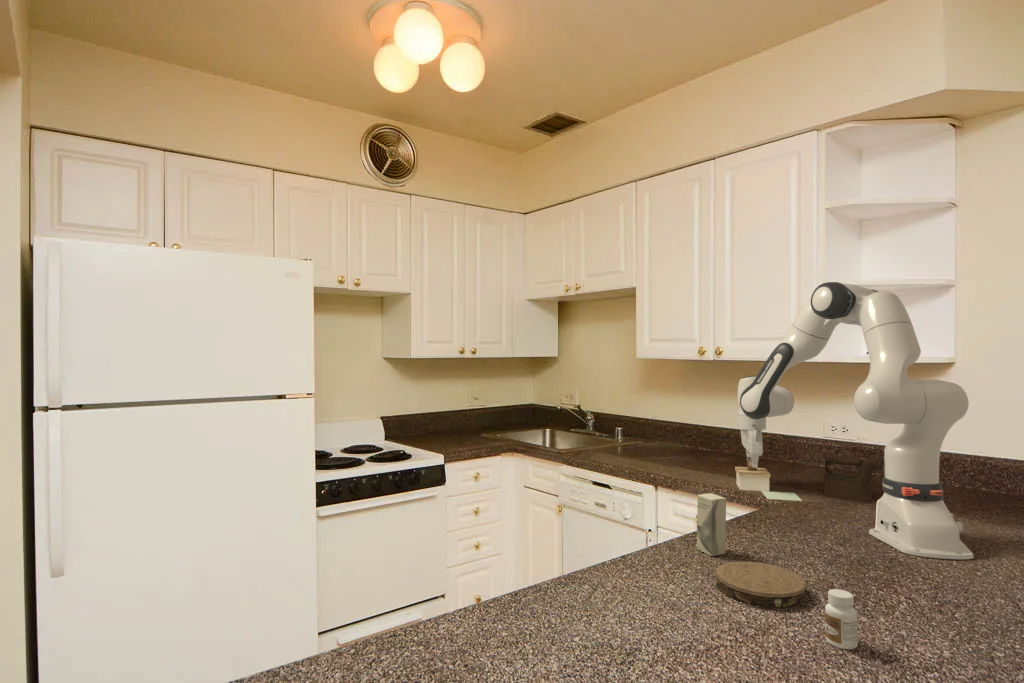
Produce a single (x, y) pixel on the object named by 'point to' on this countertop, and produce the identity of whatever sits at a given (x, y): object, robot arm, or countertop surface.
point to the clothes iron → (850, 478)
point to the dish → (752, 483)
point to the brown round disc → (761, 585)
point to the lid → (752, 471)
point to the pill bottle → (841, 620)
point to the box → (711, 524)
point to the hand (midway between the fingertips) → (752, 464)
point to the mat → (781, 496)
